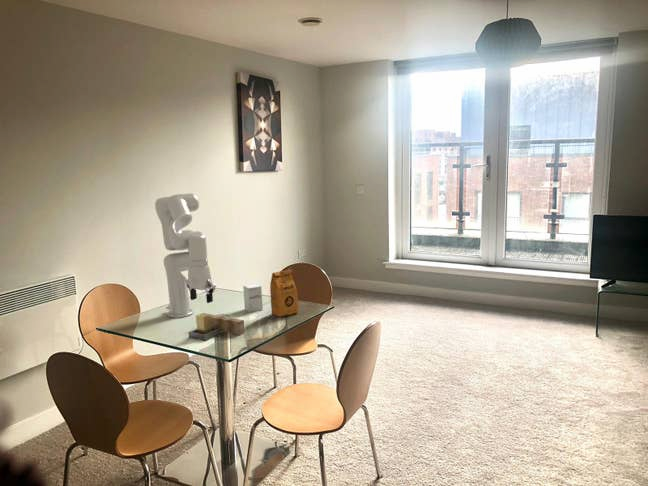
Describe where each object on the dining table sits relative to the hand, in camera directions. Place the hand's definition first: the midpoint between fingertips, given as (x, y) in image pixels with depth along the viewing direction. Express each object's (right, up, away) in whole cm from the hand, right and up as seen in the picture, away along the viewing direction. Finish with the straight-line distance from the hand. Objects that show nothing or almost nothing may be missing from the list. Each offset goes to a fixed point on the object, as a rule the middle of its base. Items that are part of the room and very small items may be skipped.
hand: (201, 300), depth 232 cm
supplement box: (+18, -9, +39) cm, 44 cm away
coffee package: (+35, -10, +29) cm, 46 cm away
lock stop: (+1, -15, +2) cm, 15 cm away
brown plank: (+8, -14, +8) cm, 18 cm away
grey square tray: (+1, -16, +2) cm, 16 cm away
